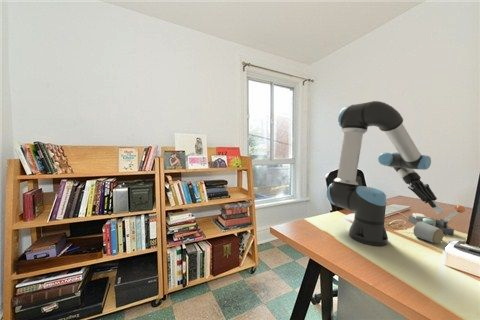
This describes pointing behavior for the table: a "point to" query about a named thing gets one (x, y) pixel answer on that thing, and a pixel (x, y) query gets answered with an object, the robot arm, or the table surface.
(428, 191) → the robot arm
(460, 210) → the toggle lever
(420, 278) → the table surface
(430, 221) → the push button
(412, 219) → the dark grey lumpy shape
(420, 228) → the grey cylinder
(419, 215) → the rocker
